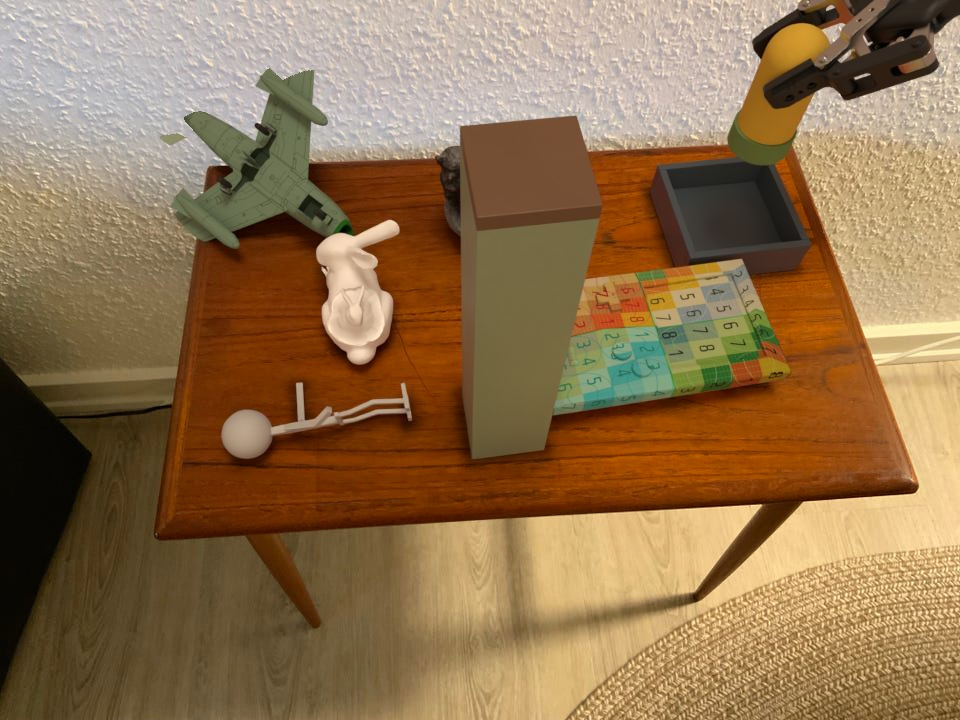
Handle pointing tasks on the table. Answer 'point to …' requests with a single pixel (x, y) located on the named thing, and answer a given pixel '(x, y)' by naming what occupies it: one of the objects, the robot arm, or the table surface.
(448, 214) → the cat statue
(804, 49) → the corn toy
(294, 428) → the figurine
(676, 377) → the puzzle game
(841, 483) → the table surface
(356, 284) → the rabbit figurine
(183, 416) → the table surface
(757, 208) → the basket
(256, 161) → the airplane
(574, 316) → the plinth
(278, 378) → the table surface
